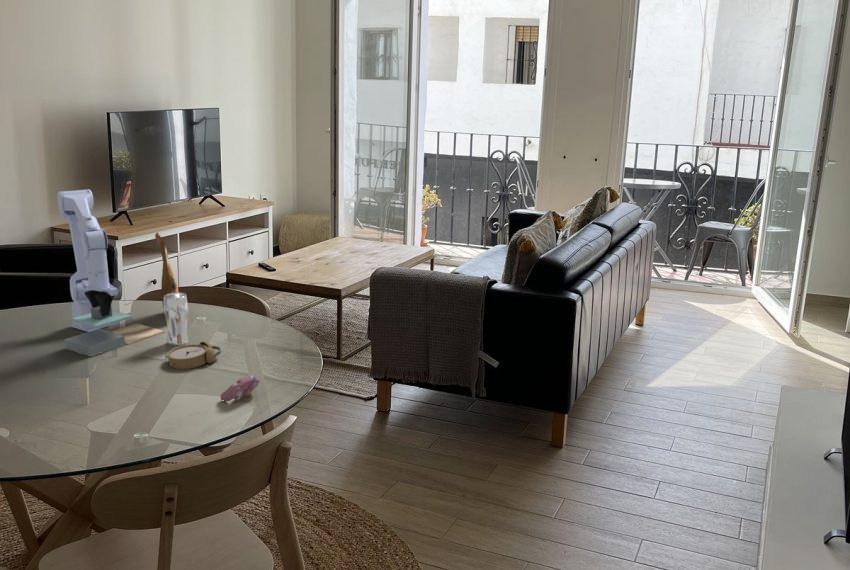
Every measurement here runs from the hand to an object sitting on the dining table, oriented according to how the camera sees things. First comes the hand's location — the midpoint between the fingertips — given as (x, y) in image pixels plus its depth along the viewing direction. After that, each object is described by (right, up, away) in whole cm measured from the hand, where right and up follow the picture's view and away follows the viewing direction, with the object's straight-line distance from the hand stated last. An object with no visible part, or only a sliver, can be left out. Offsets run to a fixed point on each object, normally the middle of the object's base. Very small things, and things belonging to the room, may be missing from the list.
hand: (102, 314), depth 248 cm
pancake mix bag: (+12, -2, +29) cm, 31 cm away
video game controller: (+50, -21, -35) cm, 64 cm away
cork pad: (+5, -7, +11) cm, 14 cm away
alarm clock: (+31, -14, -10) cm, 35 cm away
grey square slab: (-2, -10, -1) cm, 10 cm away
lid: (0, -2, 0) cm, 2 cm away
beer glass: (+22, -9, +4) cm, 24 cm away
